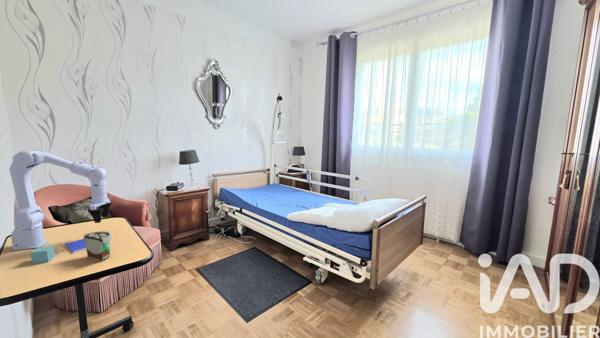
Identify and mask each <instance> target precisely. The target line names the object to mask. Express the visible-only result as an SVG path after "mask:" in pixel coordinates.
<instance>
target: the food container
mask: <svg viewBox="0 0 600 338" xmlns="http://www.w3.org/2000/svg"><path fill="white" fill-rule="evenodd" d="M83 239H85V244H86V250H85V251H86V255H87V258H88V259H89V258H90V259H93V260H96V261H101V262H105V261H106V260H108V259H109V258H110V255H111V252H110V251H111V240H112V239H113V237H112V234H111V233H110V232H109V231H103V230H102V231H93V232H89V233H85V234H83Z"/></svg>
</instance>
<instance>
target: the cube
mask: <svg viewBox="0 0 600 338" xmlns="http://www.w3.org/2000/svg"><path fill="white" fill-rule="evenodd" d="M55 257H56V252H55V245H46V246H41V247H38V248H34V249H33V250H31V252H30V259H31V265H37V264H38V265H39V264H44V263H45V264H46V263H49V262H51V260H53V259H54V258H55Z"/></svg>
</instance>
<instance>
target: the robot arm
mask: <svg viewBox="0 0 600 338" xmlns="http://www.w3.org/2000/svg"><path fill="white" fill-rule="evenodd" d="M41 164H51V165H54V166H57V167H58V166H59V167H61V168H65V169H67V170H69V171H70V172H71V173H72V174H76V175H78V176H81V177H85V178H87V179H88V180H89V181H90V190H91V201H92V202H91V204H90V206H89V208H88V209H87V212H88V213H89V214H90V215H91V217H92V220H93V222H94V223H95V224H99V223H101V222H102V218H103V219H104V218H109V213H110V208H111V206H112V205H113V203H112V201H111V200H110V198H109V197H108V191H107V181H106V180H107V179H106V177H108V171H107V170H106V168H103V167H101V166H100V167H97V166H96V165H90V164H86V163H85V161H82V160H81V161H80V160H79V161H78V160H76V161H74V162H73V161H71V160H68V159H65V158H63V157H59V156H57V155H55V154H52V153H50V152H48V151H43V150H39V149H34V150H26V151H24V150H23V151H19V152H17V153H16V154H14V155H13V156H12V162H11V164H10V166H9V174H10V178H11V183H12V187H13V190H14V195H15V199H16V203H17V207H18V209H17V211H16V212H15V214H14V221H13V225H14V227H15V228H14V229H13V230H11V234H10V237H11V246H12V249H11V251H19V250H21V251H22V250H28V249H29V250H30V249H36V248H38V247H43V246H44V245H45V244H47V243H48V242H50V239H45V235H44V227H43V222H44V220H45V218H46V214H45V213H44V212H43V211H42V208H41V207H40V206H39V205H37V202H36V199H35V195H34V194H35V193H34V190H33V186H32V180H31V176H30V175H31V174H30V171H31V170H32V169H34V168H35V167H36V166H38V165H41Z"/></svg>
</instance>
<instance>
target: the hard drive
mask: <svg viewBox="0 0 600 338" xmlns="http://www.w3.org/2000/svg"><path fill="white" fill-rule="evenodd" d="M64 246H65V247H66V248H67V249H68V250H69V251H70V252H71V253H72V254H76V253H79V252H83V251H87V250H86V244H85V239H84V238H82V239H78V240H74V241H69V242H66V243H65V244H64Z"/></svg>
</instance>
